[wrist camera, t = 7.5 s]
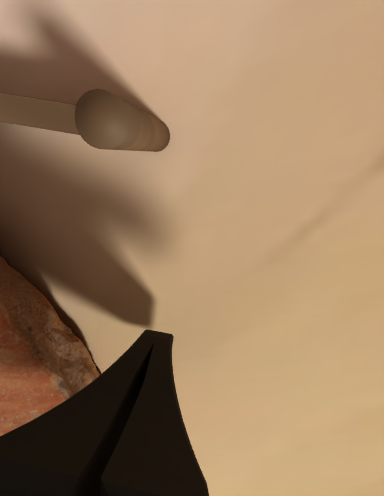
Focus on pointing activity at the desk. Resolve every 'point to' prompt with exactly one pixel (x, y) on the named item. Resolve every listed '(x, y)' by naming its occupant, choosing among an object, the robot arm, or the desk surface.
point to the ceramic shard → (35, 354)
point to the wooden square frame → (90, 120)
